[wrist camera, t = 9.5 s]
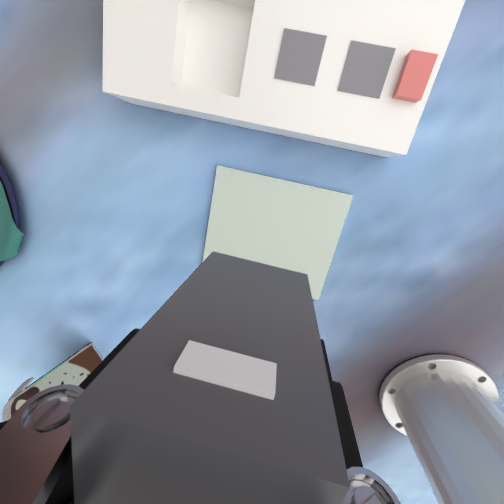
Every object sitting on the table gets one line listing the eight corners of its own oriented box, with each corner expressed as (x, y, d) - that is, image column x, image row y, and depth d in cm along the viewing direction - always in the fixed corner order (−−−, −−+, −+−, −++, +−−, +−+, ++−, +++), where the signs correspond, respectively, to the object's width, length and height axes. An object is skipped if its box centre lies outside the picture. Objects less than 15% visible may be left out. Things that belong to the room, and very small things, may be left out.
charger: (308, 271, 11) (353, 480, 4) (278, 367, 13) (267, 642, 5) (213, 248, 11) (69, 398, 4) (197, 345, 13) (77, 578, 6)
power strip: (433, 30, 21) (474, -11, 16) (387, 157, 24) (410, 154, 19) (135, -23, 22) (96, -73, 18) (130, 103, 25) (95, 88, 21)
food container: (55, 345, 37) (-24, 404, 28) (86, 333, 36) (13, 392, 26) (100, 407, 40) (42, 480, 30) (131, 399, 38) (79, 473, 29)
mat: (352, 195, 25) (353, 195, 25) (317, 298, 29) (318, 300, 29) (218, 165, 26) (217, 165, 26) (202, 269, 30) (201, 270, 29)
